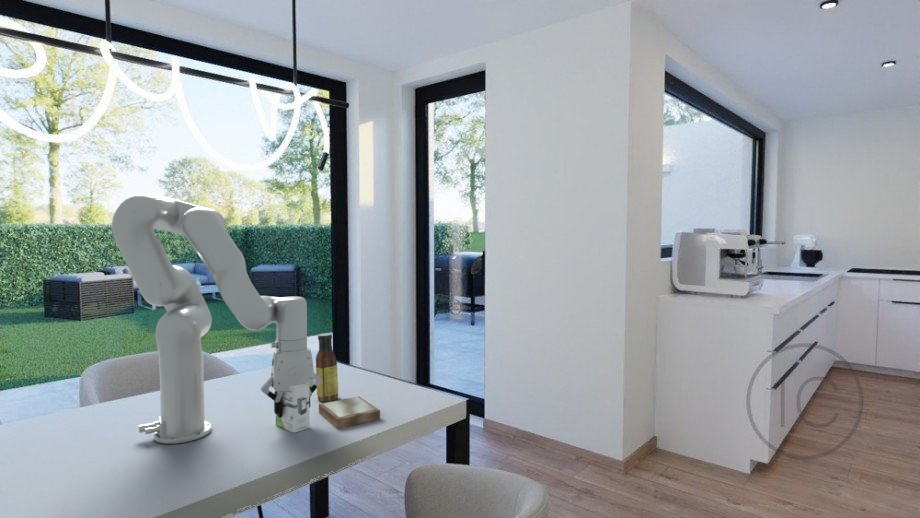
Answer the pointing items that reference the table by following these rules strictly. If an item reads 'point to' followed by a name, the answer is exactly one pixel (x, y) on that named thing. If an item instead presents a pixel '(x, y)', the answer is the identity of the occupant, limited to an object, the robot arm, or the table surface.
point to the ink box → (295, 408)
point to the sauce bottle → (326, 369)
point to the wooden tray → (349, 412)
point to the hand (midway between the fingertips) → (292, 412)
